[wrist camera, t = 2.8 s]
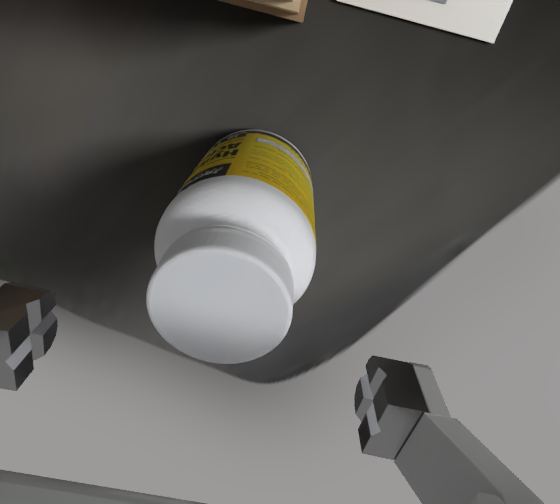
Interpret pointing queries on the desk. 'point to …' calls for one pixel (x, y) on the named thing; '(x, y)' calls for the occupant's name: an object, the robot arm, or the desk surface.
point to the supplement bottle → (235, 250)
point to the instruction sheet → (446, 14)
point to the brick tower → (275, 7)
